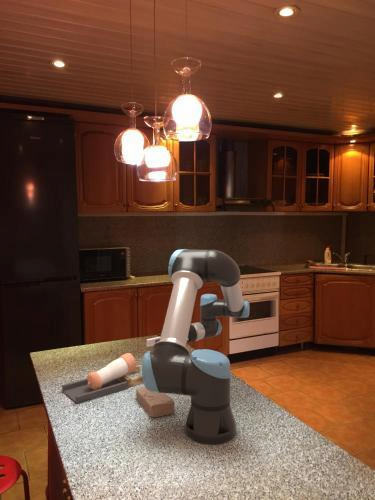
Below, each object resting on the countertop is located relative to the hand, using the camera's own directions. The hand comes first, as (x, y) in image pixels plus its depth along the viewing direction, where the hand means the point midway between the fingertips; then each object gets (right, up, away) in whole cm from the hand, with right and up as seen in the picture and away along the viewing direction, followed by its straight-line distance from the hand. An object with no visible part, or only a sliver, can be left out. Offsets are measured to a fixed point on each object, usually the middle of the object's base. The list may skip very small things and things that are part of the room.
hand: (147, 343), depth 161 cm
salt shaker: (-6, -6, -4) cm, 9 cm away
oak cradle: (-5, -13, -3) cm, 15 cm away
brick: (+5, -16, -26) cm, 30 cm away
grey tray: (-18, -14, -13) cm, 27 cm away
